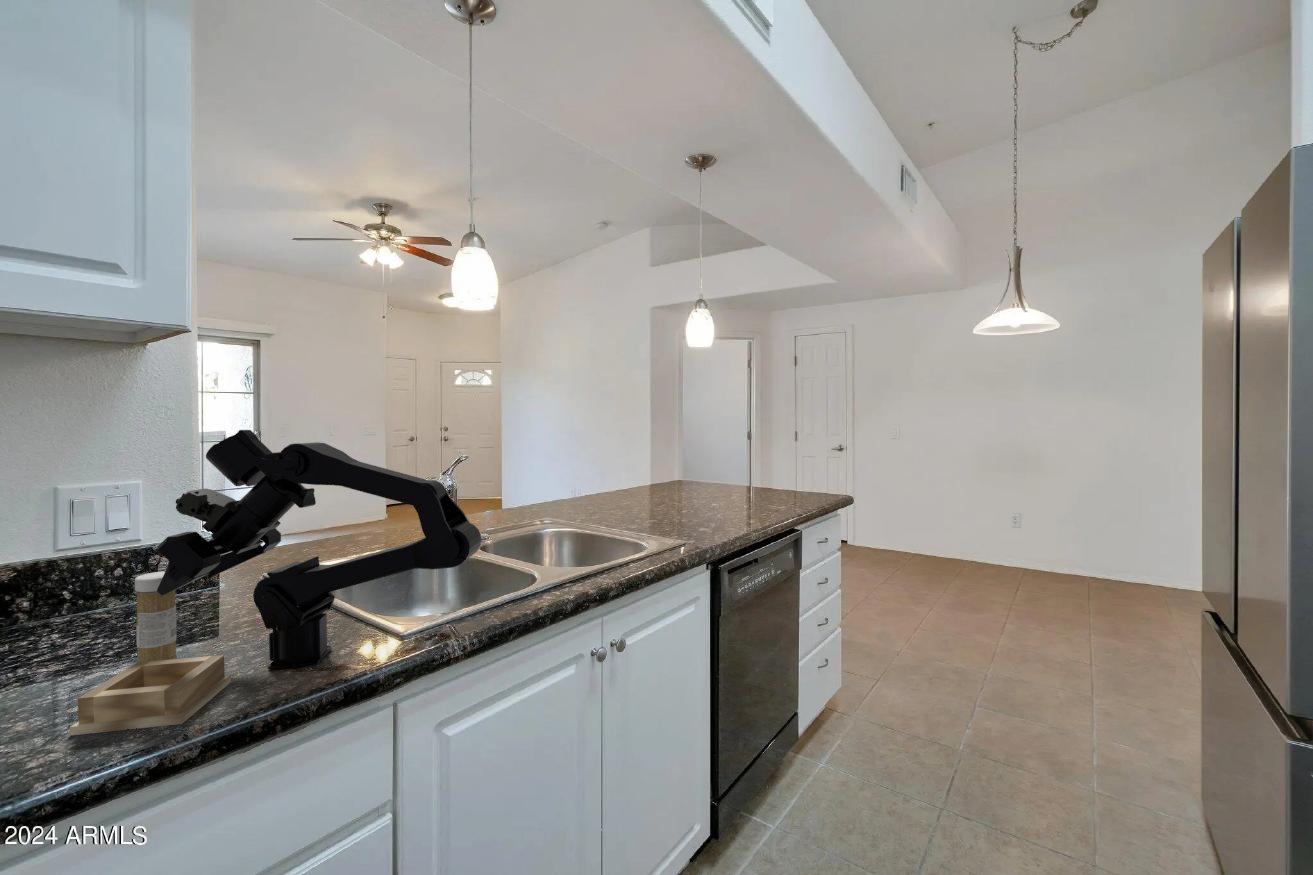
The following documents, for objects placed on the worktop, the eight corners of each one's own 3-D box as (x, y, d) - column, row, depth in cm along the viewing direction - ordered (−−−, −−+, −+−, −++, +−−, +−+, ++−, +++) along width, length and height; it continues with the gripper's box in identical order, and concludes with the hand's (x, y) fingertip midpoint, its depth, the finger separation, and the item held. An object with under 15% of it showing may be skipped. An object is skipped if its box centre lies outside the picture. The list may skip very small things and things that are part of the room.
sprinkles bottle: (150, 659, 84) (149, 570, 84) (184, 657, 85) (183, 569, 85) (127, 672, 80) (126, 579, 79) (164, 670, 81) (163, 578, 80)
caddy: (230, 681, 77) (230, 653, 77) (182, 723, 66) (181, 690, 66) (136, 690, 74) (135, 661, 74) (70, 735, 64) (69, 701, 64)
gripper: (260, 465, 92) (190, 533, 91) (170, 476, 73) (83, 561, 73) (311, 512, 93) (242, 580, 92) (235, 534, 74) (149, 619, 74)
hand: (185, 583), depth 83 cm, fingers open, 9 cm apart
